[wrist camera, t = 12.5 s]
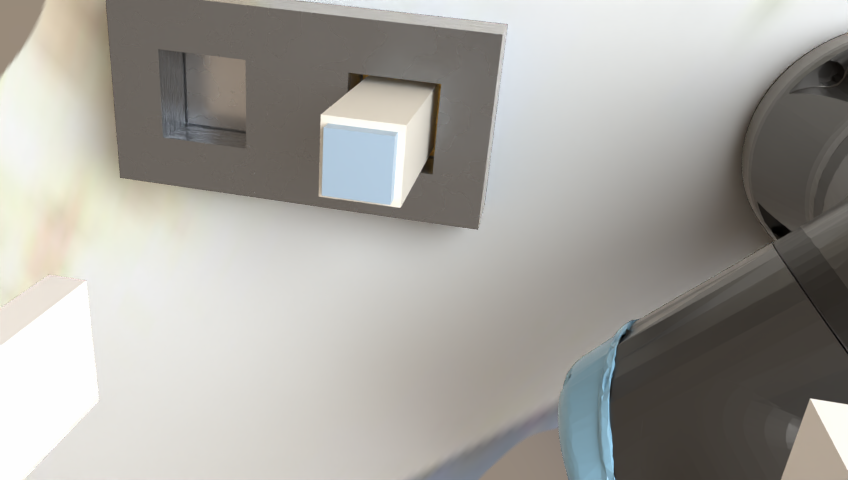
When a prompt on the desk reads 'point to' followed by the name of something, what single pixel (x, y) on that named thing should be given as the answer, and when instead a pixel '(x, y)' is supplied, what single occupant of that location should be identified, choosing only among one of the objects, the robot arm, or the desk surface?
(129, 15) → the panel block
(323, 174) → the plug
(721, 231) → the desk surface
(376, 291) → the desk surface
